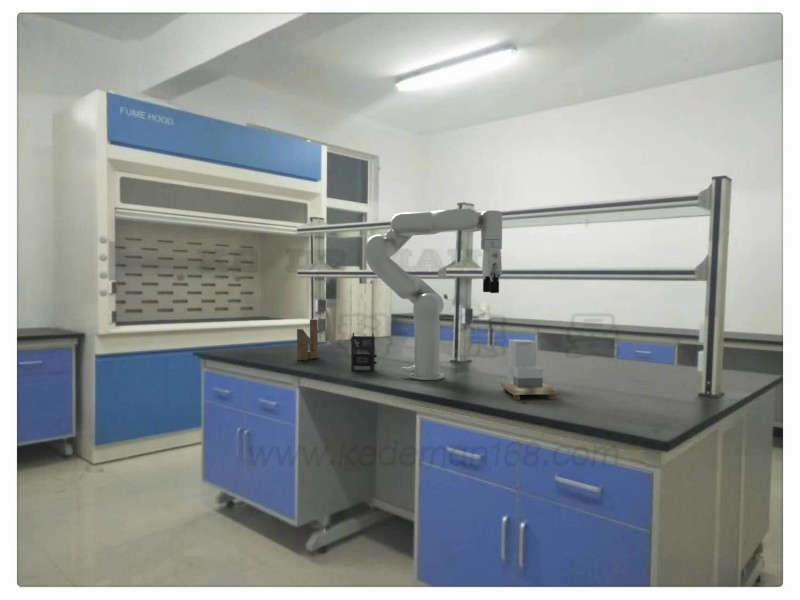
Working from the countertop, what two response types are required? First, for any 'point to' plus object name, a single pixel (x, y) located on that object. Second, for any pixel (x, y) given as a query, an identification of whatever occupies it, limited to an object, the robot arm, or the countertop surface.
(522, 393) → the beech stand
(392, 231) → the robot arm
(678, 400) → the countertop surface
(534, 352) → the skincare box
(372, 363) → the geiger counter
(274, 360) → the countertop surface
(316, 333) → the wooden block
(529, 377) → the housing
